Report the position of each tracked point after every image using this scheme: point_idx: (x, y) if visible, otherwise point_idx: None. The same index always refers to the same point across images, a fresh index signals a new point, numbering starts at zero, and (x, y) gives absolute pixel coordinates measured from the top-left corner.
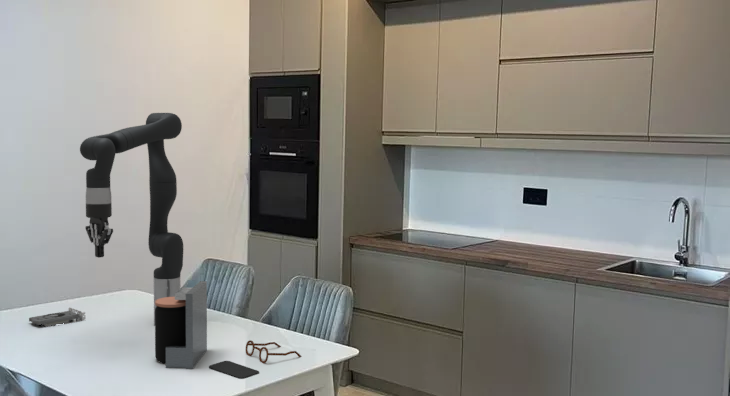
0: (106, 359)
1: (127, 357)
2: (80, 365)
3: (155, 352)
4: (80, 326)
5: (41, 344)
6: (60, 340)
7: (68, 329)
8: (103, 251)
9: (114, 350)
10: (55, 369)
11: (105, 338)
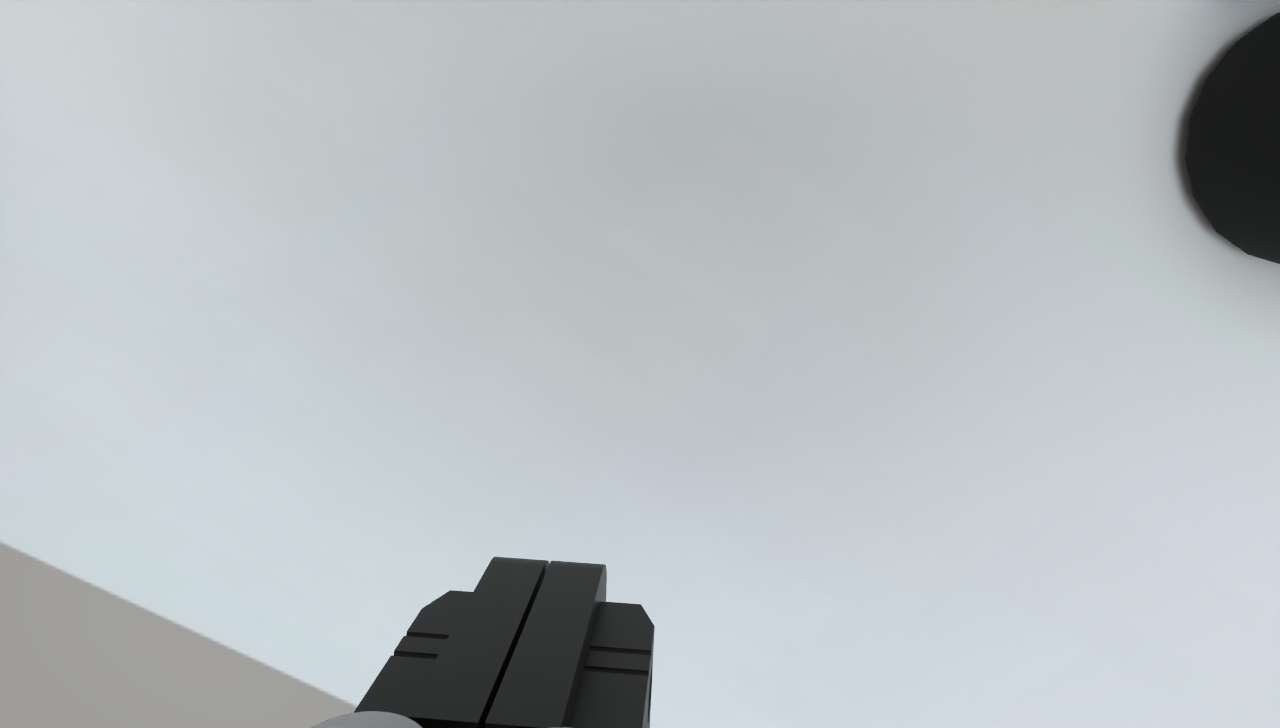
0: (918, 425)
1: (996, 318)
2: (890, 581)
3: (1273, 258)
4: (66, 101)
5: (318, 502)
6: (315, 383)
7: (90, 204)
8: (650, 675)
9: (792, 284)
10: (839, 696)
11: (488, 159)
